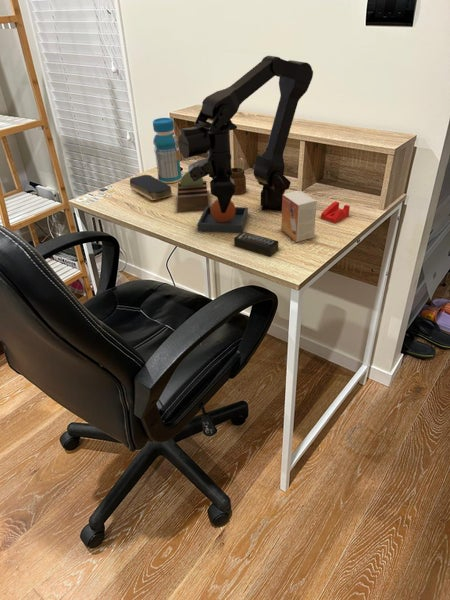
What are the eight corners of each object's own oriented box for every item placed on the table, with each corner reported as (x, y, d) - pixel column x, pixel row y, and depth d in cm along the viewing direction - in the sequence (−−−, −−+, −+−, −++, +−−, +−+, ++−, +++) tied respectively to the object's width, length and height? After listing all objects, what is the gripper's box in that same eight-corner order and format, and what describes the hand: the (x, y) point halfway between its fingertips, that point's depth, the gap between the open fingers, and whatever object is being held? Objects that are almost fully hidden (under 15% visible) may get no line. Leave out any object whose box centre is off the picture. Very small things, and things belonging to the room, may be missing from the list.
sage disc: (203, 191, 143) (202, 169, 139) (204, 192, 142) (202, 171, 138) (181, 193, 143) (179, 171, 139) (181, 194, 142) (179, 172, 138)
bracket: (334, 210, 131) (335, 201, 130) (348, 215, 128) (349, 205, 127) (320, 218, 128) (321, 208, 126) (334, 223, 125) (335, 213, 123)
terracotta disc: (235, 219, 129) (234, 196, 125) (236, 221, 128) (235, 198, 124) (211, 221, 129) (209, 198, 125) (211, 223, 128) (209, 200, 124)
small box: (280, 230, 123) (281, 193, 117) (298, 225, 125) (300, 189, 119) (296, 242, 117) (297, 205, 111) (314, 237, 119) (317, 200, 113)
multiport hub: (270, 256, 112) (270, 248, 111) (233, 245, 118) (233, 237, 116) (279, 249, 115) (279, 241, 114) (243, 238, 121) (242, 231, 119)
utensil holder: (240, 196, 144) (239, 158, 137) (223, 192, 146) (221, 155, 139) (249, 189, 148) (248, 152, 140) (232, 186, 150) (231, 150, 143)
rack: (208, 194, 146) (207, 180, 144) (210, 210, 136) (209, 195, 133) (178, 196, 146) (176, 182, 143) (177, 212, 136) (175, 198, 133)
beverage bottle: (167, 186, 154) (159, 125, 142) (153, 180, 159) (144, 120, 147) (187, 179, 158) (181, 119, 146) (172, 173, 163) (165, 115, 152)
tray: (248, 214, 132) (247, 207, 131) (242, 233, 123) (242, 225, 122) (206, 213, 134) (206, 206, 133) (198, 231, 125) (197, 223, 124)
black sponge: (128, 189, 153) (126, 179, 151) (150, 182, 157) (148, 172, 155) (153, 204, 142) (151, 193, 140) (175, 196, 146) (174, 185, 144)
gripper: (188, 140, 124) (193, 194, 133) (188, 163, 109) (193, 222, 118) (228, 137, 124) (231, 191, 133) (234, 160, 109) (236, 219, 118)
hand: (222, 205), depth 126 cm, fingers open, 9 cm apart
